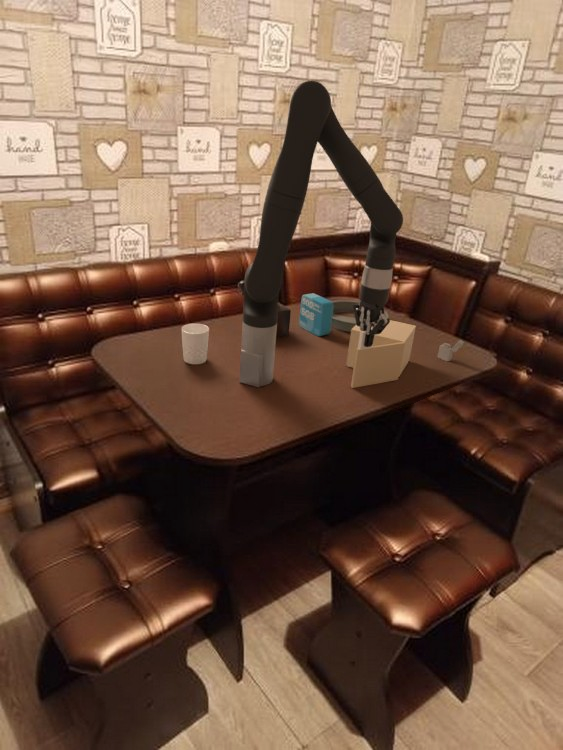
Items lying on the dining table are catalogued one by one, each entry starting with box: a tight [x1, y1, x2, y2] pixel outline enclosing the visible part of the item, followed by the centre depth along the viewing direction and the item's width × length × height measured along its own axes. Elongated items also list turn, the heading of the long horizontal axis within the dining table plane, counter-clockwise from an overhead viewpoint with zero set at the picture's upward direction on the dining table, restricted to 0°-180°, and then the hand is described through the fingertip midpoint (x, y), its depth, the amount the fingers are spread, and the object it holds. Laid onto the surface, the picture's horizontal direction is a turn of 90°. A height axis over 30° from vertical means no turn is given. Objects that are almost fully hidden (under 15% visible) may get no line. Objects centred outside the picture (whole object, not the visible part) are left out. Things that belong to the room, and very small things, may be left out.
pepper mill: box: [237, 279, 292, 339], centre depth 178 cm, size 16×11×18 cm
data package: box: [298, 292, 333, 337], centre depth 186 cm, size 12×4×12 cm, turn 37°
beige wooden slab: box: [350, 330, 405, 389], centre depth 151 cm, size 1×16×17 cm, turn 117°
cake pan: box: [331, 300, 390, 333], centre depth 198 cm, size 25×25×4 cm
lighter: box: [437, 339, 465, 362], centre depth 172 cm, size 7×2×8 cm, turn 43°
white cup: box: [181, 323, 210, 365], centre depth 158 cm, size 8×8×10 cm
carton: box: [345, 319, 417, 377], centre depth 165 cm, size 15×16×12 cm
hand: (365, 344), depth 147 cm, fingers closed
